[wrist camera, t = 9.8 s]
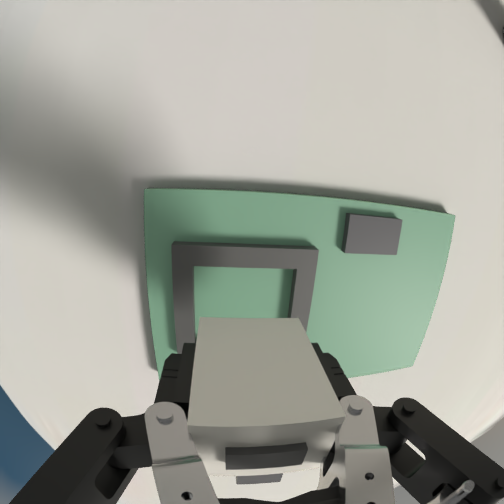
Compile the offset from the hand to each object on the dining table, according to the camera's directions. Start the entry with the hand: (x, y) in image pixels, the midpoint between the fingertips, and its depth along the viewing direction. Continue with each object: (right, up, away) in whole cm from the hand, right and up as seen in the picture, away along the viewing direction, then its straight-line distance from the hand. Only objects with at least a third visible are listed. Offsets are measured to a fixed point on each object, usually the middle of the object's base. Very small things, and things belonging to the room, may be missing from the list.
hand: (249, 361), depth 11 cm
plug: (0, 0, +1) cm, 1 cm away
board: (+4, +2, +8) cm, 9 cm away
